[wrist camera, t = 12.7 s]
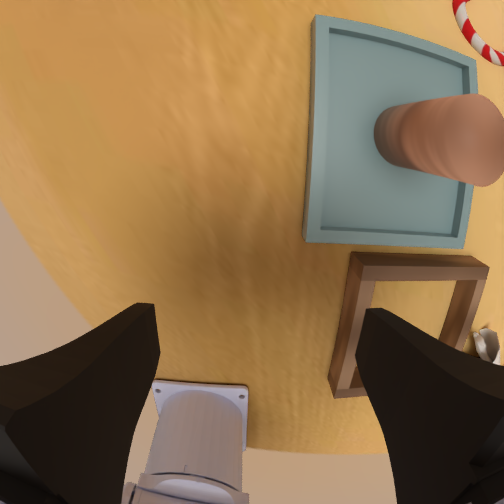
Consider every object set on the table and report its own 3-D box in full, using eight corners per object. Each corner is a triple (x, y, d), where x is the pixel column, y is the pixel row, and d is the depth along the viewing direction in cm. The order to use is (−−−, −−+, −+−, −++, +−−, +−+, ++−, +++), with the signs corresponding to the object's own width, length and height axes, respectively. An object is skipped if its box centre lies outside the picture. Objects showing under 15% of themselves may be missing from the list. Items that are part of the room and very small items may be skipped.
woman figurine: (525, 309, 18) (537, 381, 23) (496, 285, 22) (519, 362, 27) (427, 406, 20) (470, 444, 26) (407, 373, 25) (456, 421, 30)
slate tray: (452, 242, 20) (463, 249, 19) (301, 235, 20) (305, 242, 19) (464, 63, 16) (475, 60, 14) (310, 22, 15) (315, 14, 14)
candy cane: (547, 18, 12) (505, 85, 15) (539, 19, 13) (495, 86, 17) (500, -44, 10) (444, 4, 14) (493, -40, 11) (436, 9, 15)
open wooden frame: (436, 366, 24) (447, 382, 22) (327, 378, 24) (333, 398, 22) (471, 255, 21) (489, 267, 18) (351, 251, 20) (363, 265, 18)
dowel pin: (424, 170, 18) (505, 192, 10) (371, 163, 18) (443, 179, 10) (428, 112, 17) (510, 107, 9) (374, 101, 17) (446, 82, 9)
